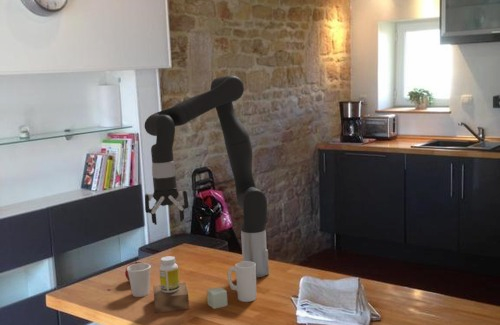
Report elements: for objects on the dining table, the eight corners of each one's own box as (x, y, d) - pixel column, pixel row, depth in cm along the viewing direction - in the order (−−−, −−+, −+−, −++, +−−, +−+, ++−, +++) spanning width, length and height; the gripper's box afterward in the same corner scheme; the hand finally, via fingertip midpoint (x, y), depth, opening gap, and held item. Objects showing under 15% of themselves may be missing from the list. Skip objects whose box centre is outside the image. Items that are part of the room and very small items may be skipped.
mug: (259, 295, 194) (258, 261, 192) (253, 303, 187) (251, 268, 186) (232, 293, 197) (230, 260, 195) (225, 300, 191) (223, 266, 189)
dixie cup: (136, 288, 206) (134, 262, 204) (156, 290, 203) (154, 263, 202) (124, 297, 198) (121, 269, 197) (145, 299, 195) (143, 271, 194)
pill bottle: (181, 286, 192) (179, 255, 190) (177, 293, 186) (175, 261, 184) (163, 286, 192) (161, 255, 191) (158, 293, 186) (156, 261, 185)
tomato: (129, 287, 207) (127, 266, 206) (123, 280, 215) (121, 260, 214) (152, 282, 211) (151, 262, 210) (145, 276, 219) (144, 256, 218)
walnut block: (186, 296, 196) (185, 282, 195) (189, 308, 185) (188, 294, 185) (154, 300, 194) (153, 286, 193) (155, 312, 183) (154, 298, 183)
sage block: (221, 300, 191) (220, 286, 190) (227, 305, 186) (226, 291, 186) (207, 304, 189) (206, 289, 188) (213, 309, 184) (212, 294, 184)
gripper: (184, 171, 192) (188, 217, 194) (141, 175, 189) (146, 222, 191) (186, 174, 185) (190, 222, 187) (142, 179, 182) (147, 228, 184)
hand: (168, 222), depth 189 cm, fingers open, 8 cm apart
